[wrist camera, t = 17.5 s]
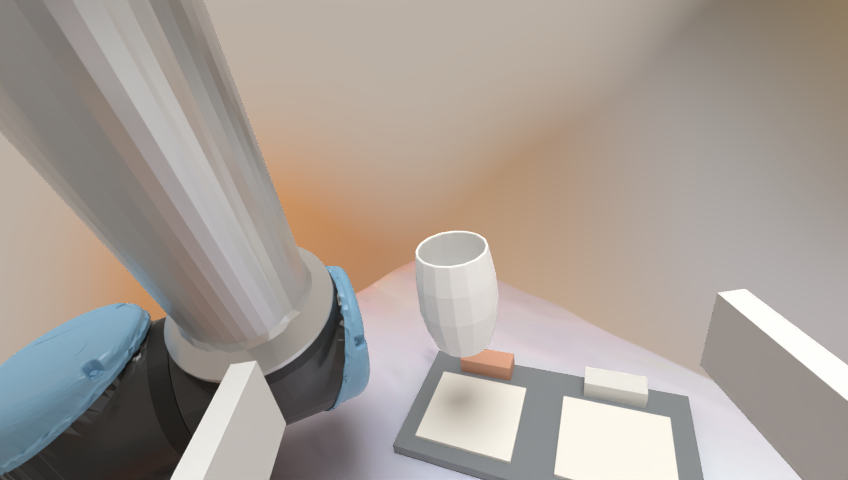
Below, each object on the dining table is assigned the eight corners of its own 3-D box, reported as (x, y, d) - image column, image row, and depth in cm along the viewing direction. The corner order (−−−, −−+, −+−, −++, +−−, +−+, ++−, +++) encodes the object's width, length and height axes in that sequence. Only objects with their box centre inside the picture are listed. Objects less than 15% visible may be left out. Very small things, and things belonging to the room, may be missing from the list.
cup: (428, 427, 42) (392, 263, 33) (457, 377, 48) (434, 224, 38) (492, 453, 39) (473, 277, 29) (516, 396, 44) (506, 232, 34)
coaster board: (395, 452, 42) (389, 432, 41) (440, 357, 53) (437, 339, 52) (712, 549, 31) (720, 528, 29) (686, 404, 42) (691, 383, 40)
